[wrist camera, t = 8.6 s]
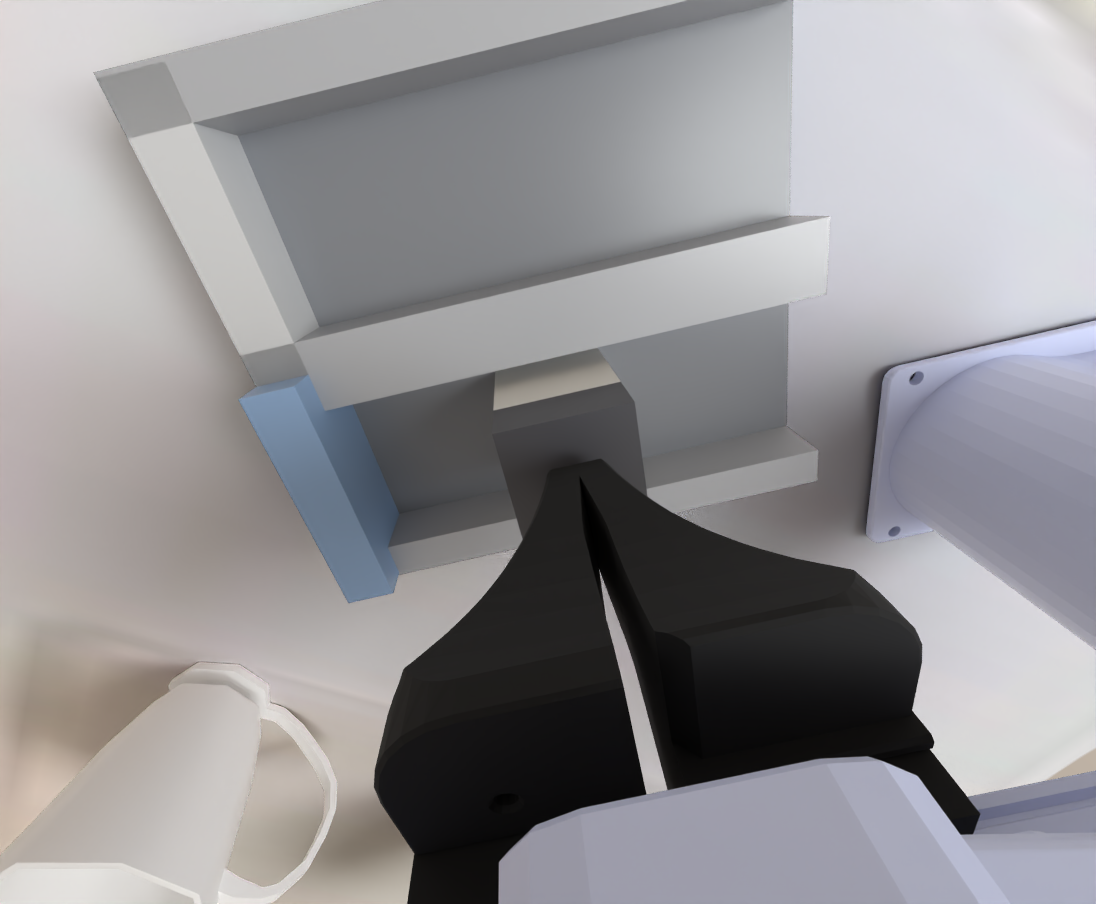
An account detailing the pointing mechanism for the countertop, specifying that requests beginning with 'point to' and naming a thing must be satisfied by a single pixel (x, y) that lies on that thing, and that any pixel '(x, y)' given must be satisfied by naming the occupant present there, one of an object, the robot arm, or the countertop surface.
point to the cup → (163, 804)
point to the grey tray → (488, 245)
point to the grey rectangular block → (562, 424)
